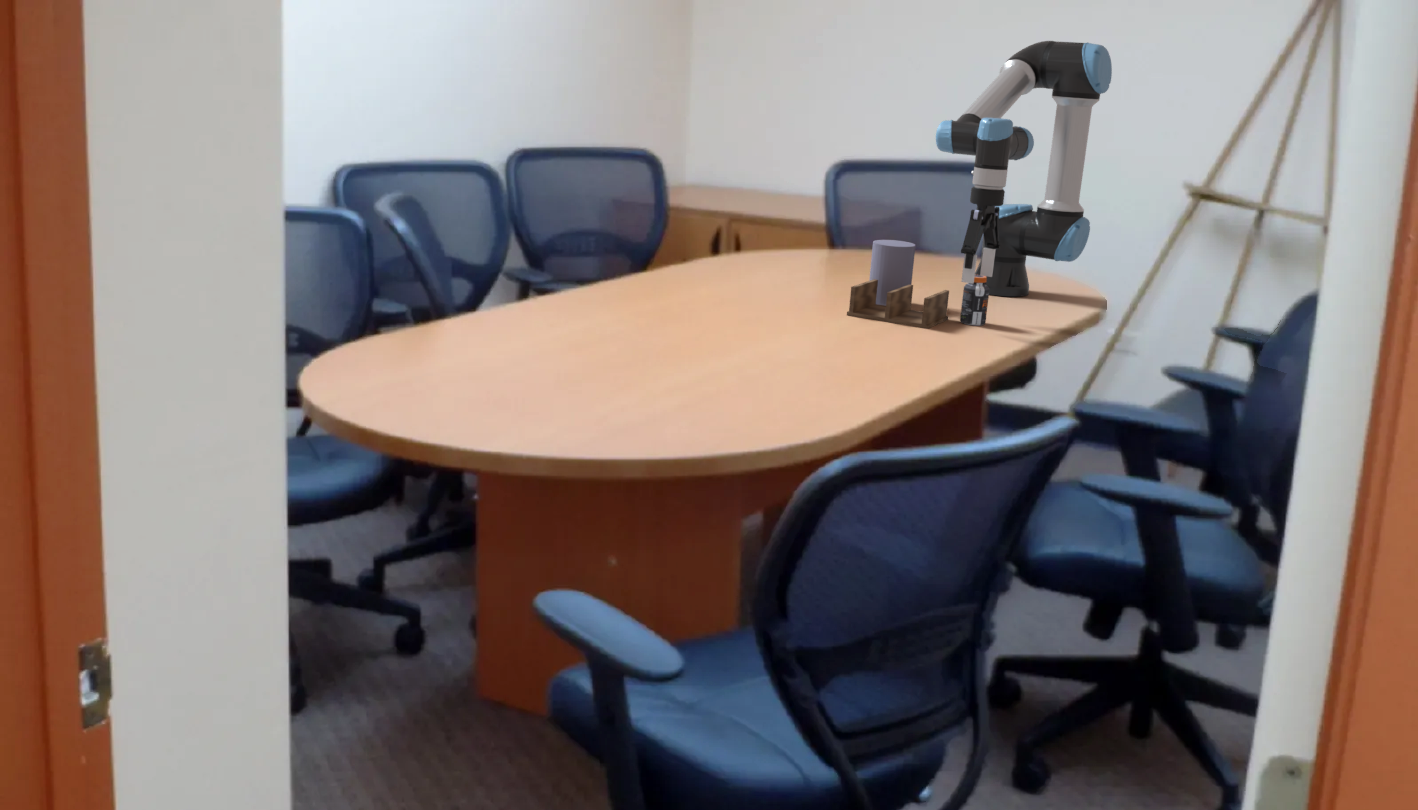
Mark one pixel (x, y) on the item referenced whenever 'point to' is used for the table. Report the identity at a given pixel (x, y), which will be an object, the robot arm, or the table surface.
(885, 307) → the rack
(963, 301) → the pill bottle
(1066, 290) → the table surface
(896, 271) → the container
